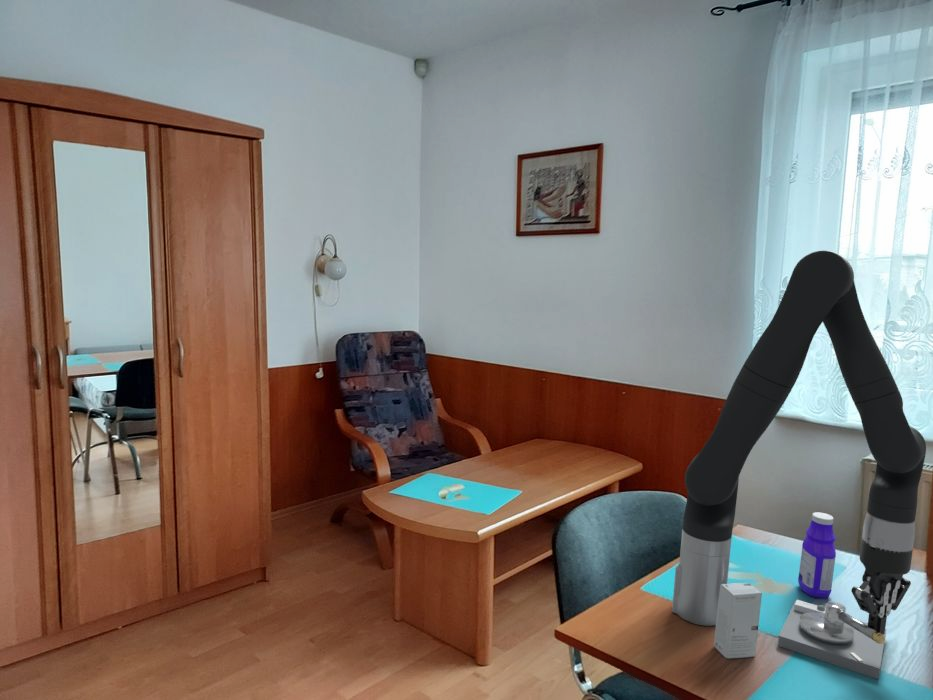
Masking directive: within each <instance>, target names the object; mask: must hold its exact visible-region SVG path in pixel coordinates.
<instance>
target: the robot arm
mask: <svg viewBox="0 0 933 700" xmlns="http://www.w3.org/2000/svg"><path fill="white" fill-rule="evenodd" d="M791 272H792V273H791V275H790V278H789V280H788V283H787V285H786V288H785V290H784V293H783V295H782V298H781V300H780V302H779V305H778V307H777V309H776V311H775V313H774V315H773V317H772V319H771V321H770V322H769V323H768V326H767V327H766V328H765V330H764V331H763V332H762V334H761V335H760V337H759V339H758V340H757V341H756V343H755V345H754V346H753V348H752V350H751V352H750V353H749V355H748V356H747V358H746V360H745V361H744V363H743V365H742V366H741V369H740V370H739V372H738V374H737V376H736V378H735V380H734V382H733V383H732V386H731V388H730V391H728V394H727V397H726V399H725V402H724V404H723V406H722V409H721V412H720V413H719V417H718V419H717V423H716V425H715V427H714V429H713V431H712V433H711V435H710V436H709V438H708V440H707V441H706V442H705V444H704V445H703V447H702V449H700V451H699V452H698V453H697V454H696V455H695V456H694V458H693V459H692V460H691V462H690V463H689V464H688V466H687V467H686V471H685V474H684V485H685V488H686V492H687V497H686V498H687V499H686V503H685V509H684V512H683V517H682V528H681V538H680V539H681V540H680V541H681V542H680V551H679V553H680V554H679V563H678V564H677V565H676V567H675V572H674V583H673V584H674V585H673V596H672V604H671V605H672V606H671V607H672V608H671V612H672V613H674V614H676V615H677V616H679V617H680V618H682V619H683V620H685V621H687V622H689V623H692V624H695V625H698V626H707V627H708V626H709V627H713V626H716V620H717V610H718V600H719V591H720V585H721V584H728V577H729V568H730V558H731V547H732V538H733V530H734V529H733V528H734V523H735V518H736V517H735V516H736V510H737V509H736V508H737V500H738V493H739V492H738V490H739V478H740V476H741V475H740V474H741V472H742V470H743V468H744V465H745V464H746V462H747V459H748V457H749V454H750V453H751V451H752V449H753V448H754V446H755V445H756V444H757V442H758V441H759V439H760V438H761V437H762V435H763V434H764V433H765V432H766V431H767V429H768V427H769V426H770V425H771V423H772V422H773V420H774V419H775V418H776V416H777V415H778V413H779V411H780V410H781V408H782V407H783V406H784V404H785V402H786V400H787V399H788V397H789V395H790V394H791V392H792V389H793V388H794V386H795V384H796V383H797V381H798V379H799V376H800V374H801V373H802V372H801V371H802V369H803V367H804V363H805V361H806V358H807V357H808V352H809V349H810V347H811V344H812V341H813V339H814V336H815V335H816V333H817V331H818V329H819V328H820V326H821V324H823V326H824V328H825V329H826V331H827V334H828V336H829V339H830V341H831V345H832V347H833V350H834V354H835V357H836V360H837V363H838V367H839V370H840V372H841V375H842V378H843V380H844V383H845V386H846V389H847V390H848V393H849V395H850V397H851V400H852V402H853V403H854V406H855V408H856V410H857V411H858V414H859V417H860V421H861V424H862V430H863V431H864V435H865V439H866V443H867V446H868V449H869V451H870V453H871V455H872V457H873V458H874V461H875V462H876V466H875V467H876V468H875V475H874V479H873V481H872V482H871V485H870V489H869V493H868V500H867V507H866V514H865V518H864V521H863V525H862V527H863V528H862V534H861V535H862V536H861V543H860V550H859V551H860V552H859V561H860V562H861V564H862V565H863V566H864V569H865V570H864V571H863V575H862V577H861V579H862V583H861V584H860V585H859V587H857V586H852V588H851V594H852V595H853V598H854V600H855V601H856V603H857V605H858V606H859V609H860V610H861V611H863V612H866V613H868V619H867V620H868V621H867V623H868V626H869V627H870V628H872V629H874V630H875V631H877V632H879V633H881V634H882V635H884V634H885V629H886V626H887V625H886V624H887V619H888V616H890V614H891V612H892V611H896V610H897V609H898V608H899V606H900V604H901V602H902V601H903V599H904V597H905V595H906V593H907V592H908V590H909V589H910V586H911V584H912V583H911V580H909V579H906V578H904V575H907V574H908V573H910V571H911V568H912V567H911V565H912V558H913V553H914V552H913V551H914V545H915V536H916V529H915V528H916V527H915V526H916V515H917V514H916V513H917V507H918V493H919V492H918V491H919V485H920V481H921V477H922V473H923V470H924V466H925V465H924V464H925V459H926V454H927V444H926V440H925V438H924V436H923V435H922V433H920V431H919V430H918V429H917V428H914V427H913V426H910V424H909V421H908V419H907V416H906V414H905V412H904V400H903V397H902V395H901V392H900V389H899V388H898V385H897V383H896V381H895V379H894V376H893V374H892V372H891V370H890V368H889V366H888V365H889V364H887V361H886V359H885V358H884V356H883V353H882V352H881V350H880V348H879V346H878V344H877V342H876V339H875V338H874V337H873V334H872V332H871V330H870V327H869V326H868V322H867V320H866V319H865V316H864V313H863V310H862V307H861V304H860V301H859V297H858V292H857V289H856V283H855V273H854V270H853V267H852V265H851V264H850V262H849V261H848V260H847V259H846V257H844V256H842V255H841V254H839V253H837V252H836V251H835V252H834V251H831V250H826V249H825V250H824V249H823V250H817V251H816V250H815V251H812V252H810V253H808V254H806V255H804V256H803V257H802V258H801V259H799V261H798V262H797V263H796V265H795V266H794V267H793V270H792V271H791ZM891 610H892V611H891Z"/></svg>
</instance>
